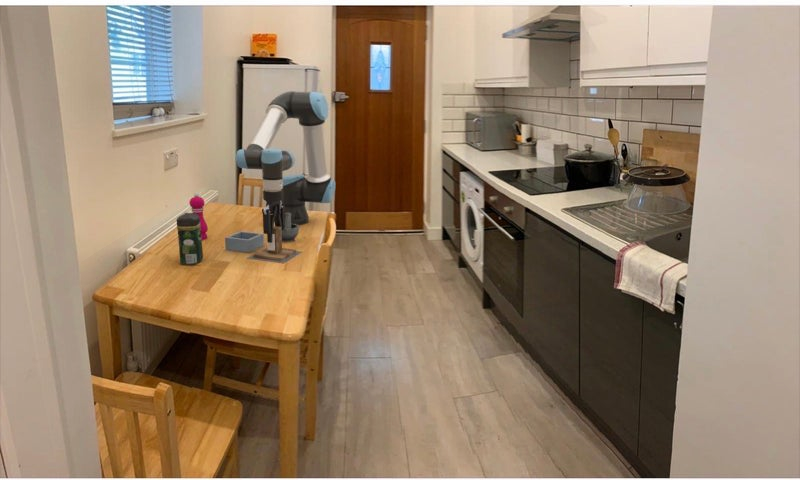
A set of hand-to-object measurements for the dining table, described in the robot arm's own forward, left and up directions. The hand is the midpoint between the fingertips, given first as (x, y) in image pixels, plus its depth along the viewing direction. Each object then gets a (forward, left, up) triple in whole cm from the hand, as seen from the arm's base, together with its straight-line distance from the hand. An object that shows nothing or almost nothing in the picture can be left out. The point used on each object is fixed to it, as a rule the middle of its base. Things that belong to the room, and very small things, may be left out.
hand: (274, 247), depth 214 cm
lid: (0, 0, -3) cm, 3 cm away
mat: (0, 0, -4) cm, 4 cm away
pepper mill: (-11, -43, -4) cm, 45 cm away
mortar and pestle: (-22, -6, -4) cm, 23 cm away
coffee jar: (+17, -26, -4) cm, 31 cm away
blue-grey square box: (-4, -16, -4) cm, 17 cm away
